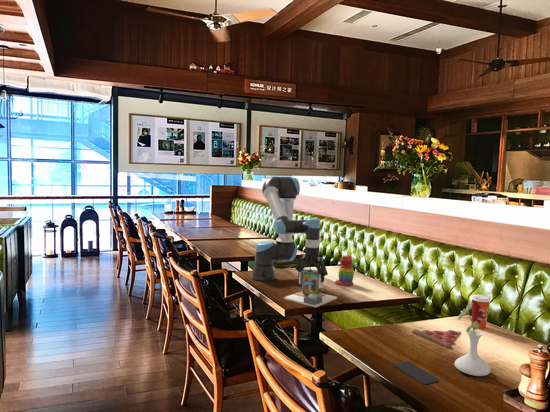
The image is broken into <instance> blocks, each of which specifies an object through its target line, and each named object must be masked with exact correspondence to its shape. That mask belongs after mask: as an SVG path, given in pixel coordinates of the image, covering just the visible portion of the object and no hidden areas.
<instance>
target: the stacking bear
mask: <svg viewBox="0 0 550 412" xmlns="http://www.w3.org/2000/svg"><path fill="white" fill-rule="evenodd" d="M340 263H341V265H340V267H339V269H338V271H337V272H338V273H337V274H338V279H337V280H335V281H334V283H335V284H336V285H338V286H342V287H352V286H354V277H355V276H354V275H355V272H354V268H353V266H352V263H353V259H352V255H343V256H342V257H341V258H340Z"/></svg>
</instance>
